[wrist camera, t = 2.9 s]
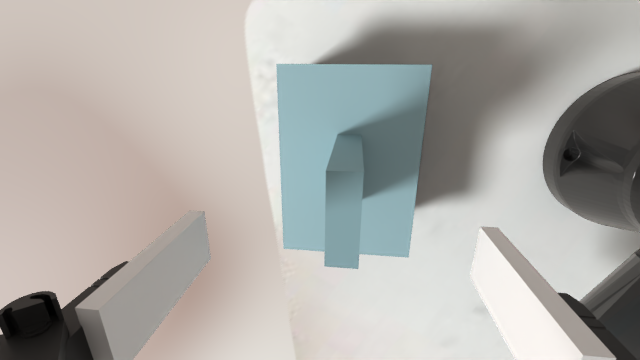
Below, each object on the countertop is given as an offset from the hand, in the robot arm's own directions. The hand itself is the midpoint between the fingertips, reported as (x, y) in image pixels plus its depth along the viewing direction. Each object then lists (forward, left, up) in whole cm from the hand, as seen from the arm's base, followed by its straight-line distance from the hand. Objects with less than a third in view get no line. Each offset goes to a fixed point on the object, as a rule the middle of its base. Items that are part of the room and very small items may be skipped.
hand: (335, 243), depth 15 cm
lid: (0, 0, -13) cm, 13 cm away
